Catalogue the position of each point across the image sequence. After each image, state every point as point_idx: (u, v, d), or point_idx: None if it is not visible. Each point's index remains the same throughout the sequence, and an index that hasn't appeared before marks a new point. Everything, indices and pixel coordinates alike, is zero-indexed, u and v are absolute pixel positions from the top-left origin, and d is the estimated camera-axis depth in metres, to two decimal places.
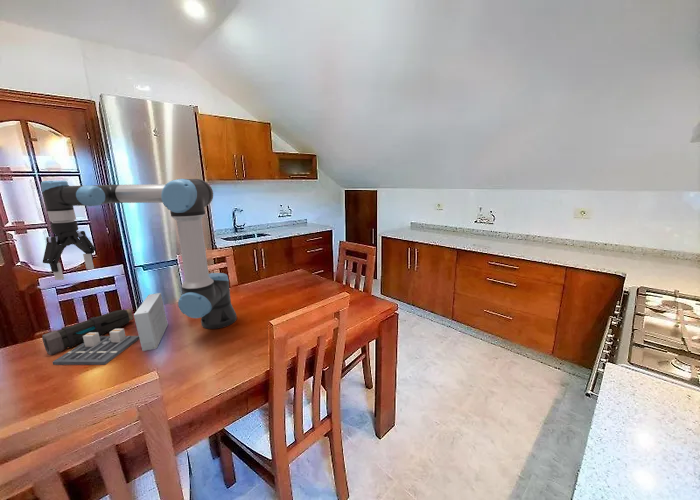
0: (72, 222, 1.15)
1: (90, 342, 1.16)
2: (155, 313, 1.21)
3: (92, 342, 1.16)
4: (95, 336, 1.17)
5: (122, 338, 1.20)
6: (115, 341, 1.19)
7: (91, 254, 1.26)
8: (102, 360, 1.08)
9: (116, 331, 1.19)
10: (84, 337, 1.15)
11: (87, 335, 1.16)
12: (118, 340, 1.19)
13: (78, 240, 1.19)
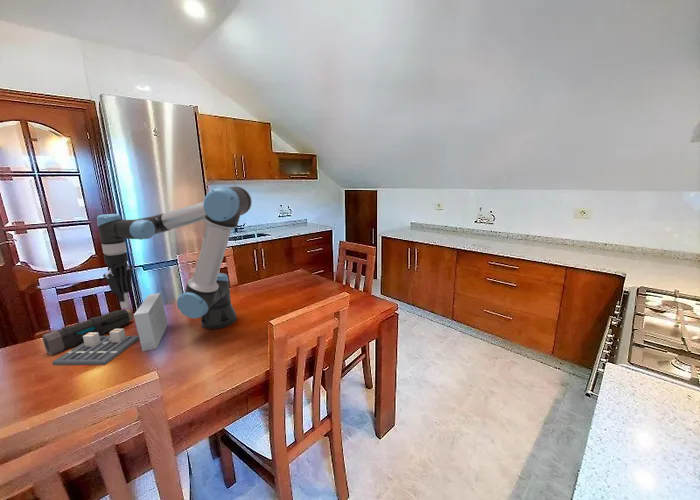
0: (124, 254, 1.19)
1: (90, 342, 1.16)
2: (155, 313, 1.21)
3: (92, 342, 1.16)
4: (95, 336, 1.17)
5: (122, 338, 1.20)
6: (115, 341, 1.19)
7: (127, 292, 1.25)
8: (102, 360, 1.08)
9: (116, 331, 1.19)
10: (84, 337, 1.15)
11: (87, 335, 1.16)
12: (118, 340, 1.19)
13: (125, 272, 1.22)
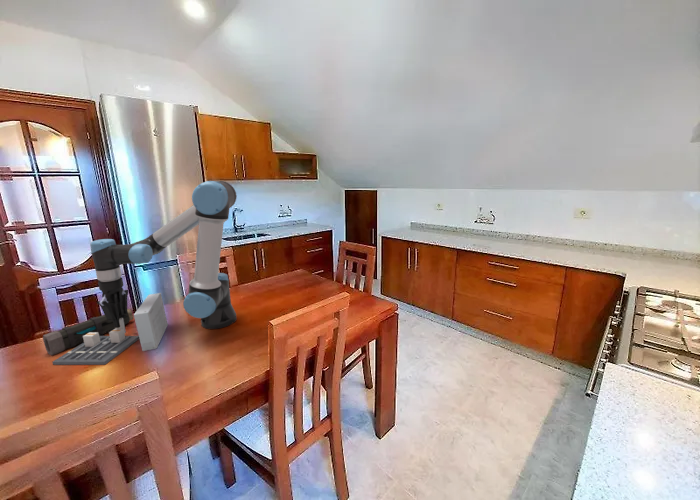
0: (118, 279, 1.17)
1: (90, 342, 1.16)
2: (155, 313, 1.21)
3: (92, 342, 1.16)
4: (95, 336, 1.17)
5: (122, 338, 1.20)
6: (115, 341, 1.19)
7: (123, 318, 1.22)
8: (102, 360, 1.08)
9: (116, 331, 1.19)
10: (84, 337, 1.15)
11: (87, 335, 1.16)
12: (118, 340, 1.19)
13: (120, 297, 1.20)
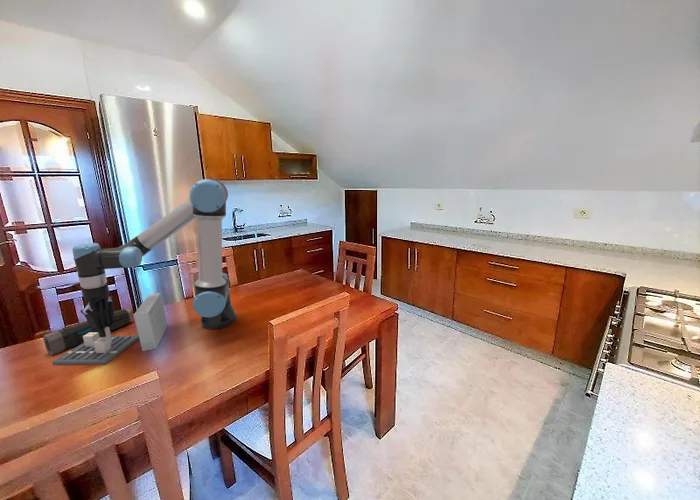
0: (103, 286, 1.10)
1: (90, 342, 1.16)
2: (155, 313, 1.21)
3: (92, 342, 1.16)
4: (95, 336, 1.17)
5: (107, 348, 1.13)
6: (100, 352, 1.12)
7: (109, 326, 1.15)
8: (102, 360, 1.08)
9: (101, 341, 1.11)
10: (84, 337, 1.15)
11: (87, 335, 1.16)
12: (103, 351, 1.12)
13: (106, 305, 1.13)
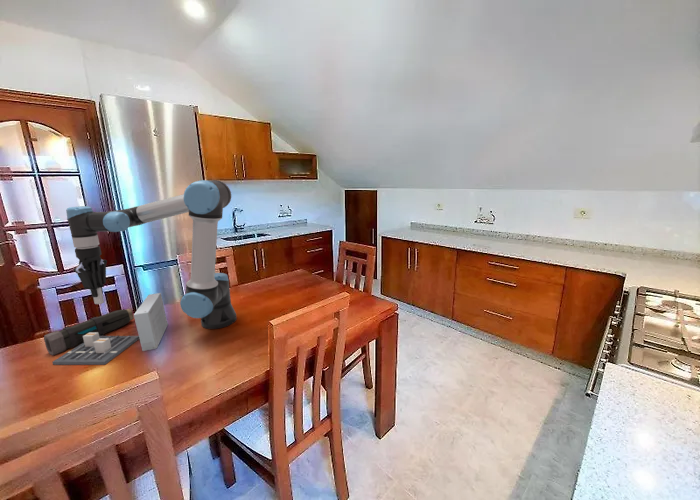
0: (96, 247, 1.16)
1: (90, 342, 1.16)
2: (155, 313, 1.21)
3: (92, 342, 1.16)
4: (95, 336, 1.17)
5: (107, 348, 1.13)
6: (100, 352, 1.12)
7: (101, 288, 1.21)
8: (102, 360, 1.08)
9: (101, 341, 1.11)
10: (84, 337, 1.15)
11: (87, 335, 1.16)
12: (103, 351, 1.12)
13: (98, 266, 1.19)
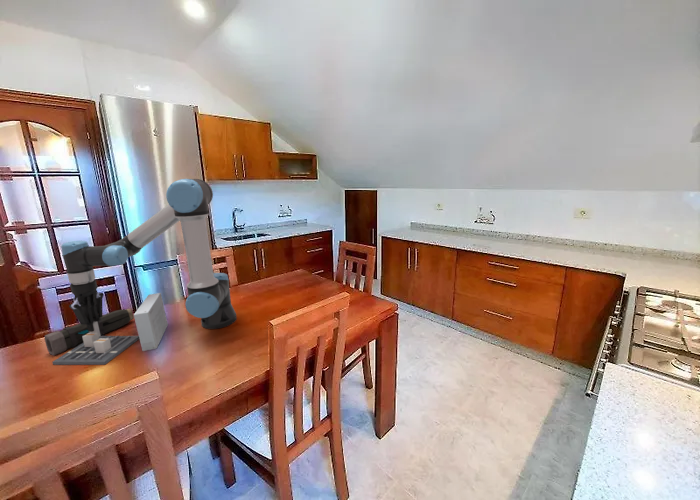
0: (92, 282, 1.14)
1: (90, 342, 1.16)
2: (155, 313, 1.21)
3: (92, 342, 1.16)
4: (95, 337, 1.17)
5: (107, 348, 1.13)
6: (100, 352, 1.12)
7: (97, 321, 1.20)
8: (102, 360, 1.08)
9: (101, 341, 1.11)
10: (84, 337, 1.15)
11: (87, 335, 1.16)
12: (103, 351, 1.12)
13: (94, 301, 1.17)
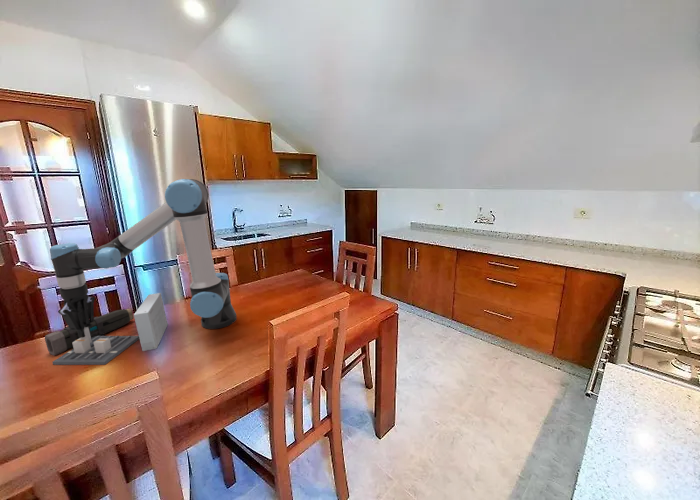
0: (82, 286, 1.10)
1: (80, 348, 1.12)
2: (155, 313, 1.21)
3: (82, 348, 1.12)
4: (86, 342, 1.13)
5: (107, 348, 1.13)
6: (100, 352, 1.12)
7: (88, 327, 1.15)
8: (102, 360, 1.08)
9: (101, 341, 1.11)
10: (74, 343, 1.11)
11: (77, 341, 1.12)
12: (103, 351, 1.12)
13: (85, 305, 1.13)
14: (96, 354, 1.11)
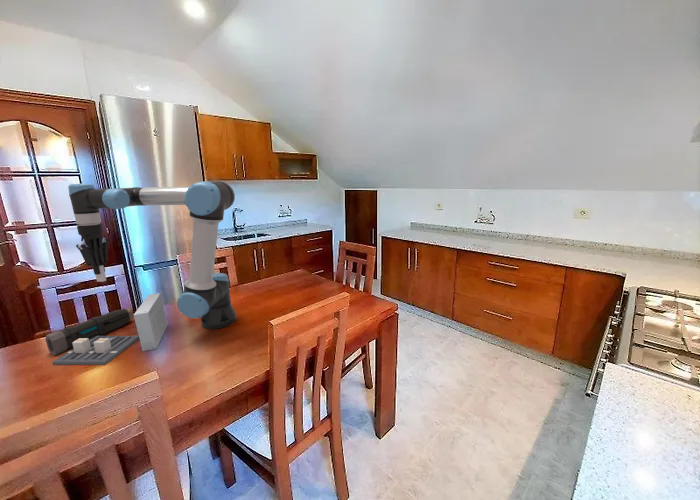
0: (98, 225, 1.17)
1: (80, 348, 1.12)
2: (155, 313, 1.21)
3: (82, 348, 1.12)
4: (86, 342, 1.13)
5: (107, 348, 1.13)
6: (100, 352, 1.12)
7: (103, 266, 1.22)
8: (102, 360, 1.08)
9: (101, 341, 1.11)
10: (73, 343, 1.11)
11: (77, 341, 1.12)
12: (103, 351, 1.12)
13: (100, 244, 1.20)
14: (96, 354, 1.11)
